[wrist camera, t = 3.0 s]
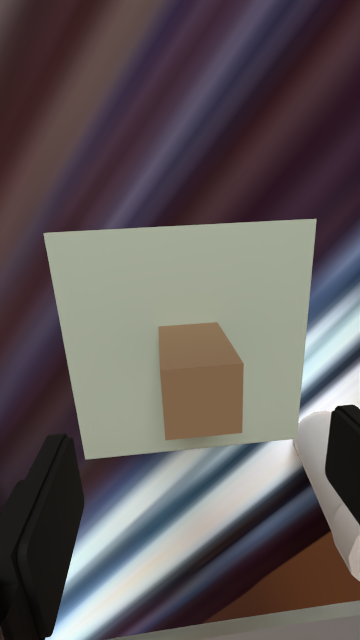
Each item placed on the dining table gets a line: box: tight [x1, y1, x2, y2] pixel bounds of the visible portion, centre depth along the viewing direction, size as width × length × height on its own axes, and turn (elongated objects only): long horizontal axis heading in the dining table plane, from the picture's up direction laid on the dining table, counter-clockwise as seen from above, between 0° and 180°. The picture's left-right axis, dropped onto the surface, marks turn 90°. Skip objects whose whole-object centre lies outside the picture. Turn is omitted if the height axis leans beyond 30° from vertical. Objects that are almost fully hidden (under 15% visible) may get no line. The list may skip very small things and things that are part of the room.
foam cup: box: [293, 411, 360, 581], centre depth 29 cm, size 10×9×13 cm
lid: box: [44, 219, 316, 459], centre depth 16 cm, size 15×15×8 cm
